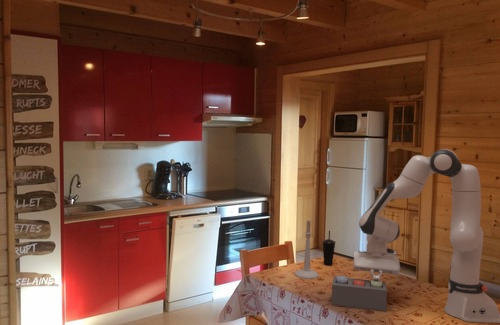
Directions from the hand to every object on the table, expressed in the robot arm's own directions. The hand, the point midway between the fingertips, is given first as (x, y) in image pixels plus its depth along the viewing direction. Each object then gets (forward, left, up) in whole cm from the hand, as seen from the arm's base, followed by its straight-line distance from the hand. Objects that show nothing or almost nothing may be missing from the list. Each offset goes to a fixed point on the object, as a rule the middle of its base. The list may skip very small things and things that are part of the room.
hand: (376, 280), depth 190 cm
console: (+7, 0, -11) cm, 13 cm away
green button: (0, 0, -4) cm, 4 cm away
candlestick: (+34, -33, -12) cm, 49 cm away
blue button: (+15, 0, -4) cm, 15 cm away
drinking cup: (+24, -57, -11) cm, 63 cm away
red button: (+7, 0, -5) cm, 9 cm away
